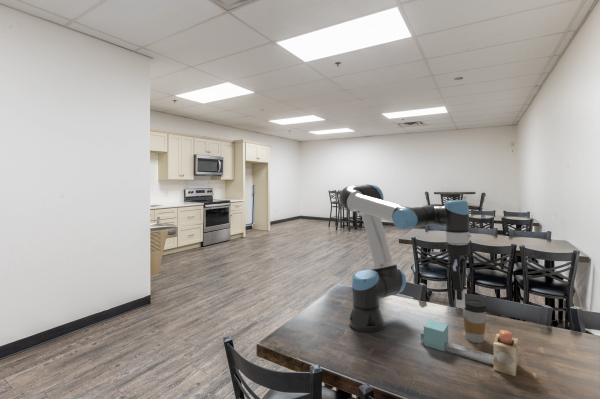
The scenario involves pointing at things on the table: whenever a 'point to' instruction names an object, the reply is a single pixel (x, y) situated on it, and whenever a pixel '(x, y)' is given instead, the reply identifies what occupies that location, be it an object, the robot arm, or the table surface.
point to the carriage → (435, 334)
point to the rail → (466, 352)
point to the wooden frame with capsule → (505, 356)
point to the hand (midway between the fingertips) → (460, 307)
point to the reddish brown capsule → (505, 336)
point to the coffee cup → (474, 320)
